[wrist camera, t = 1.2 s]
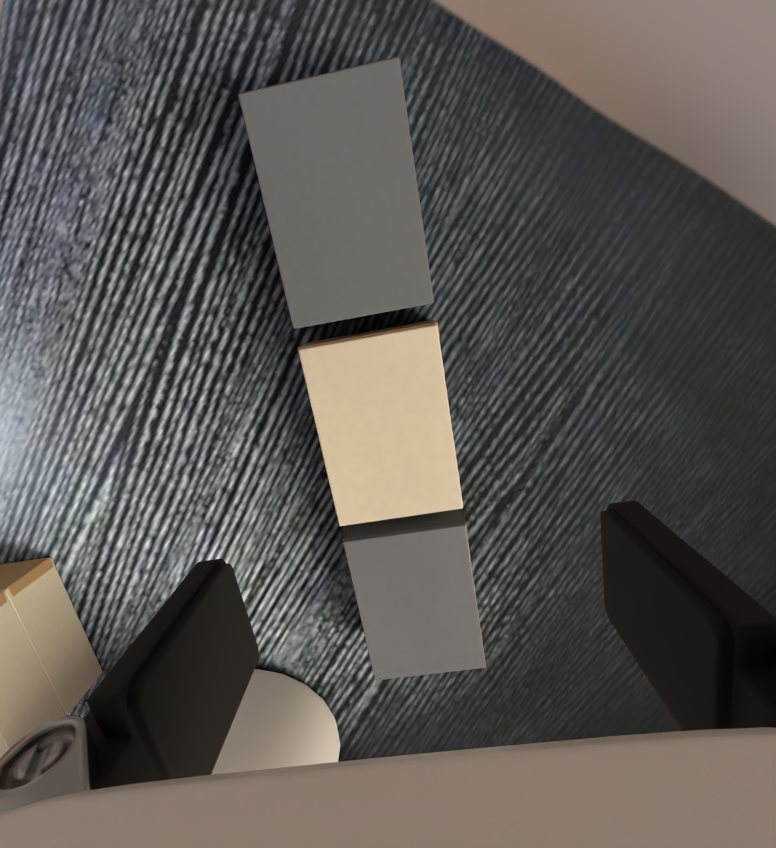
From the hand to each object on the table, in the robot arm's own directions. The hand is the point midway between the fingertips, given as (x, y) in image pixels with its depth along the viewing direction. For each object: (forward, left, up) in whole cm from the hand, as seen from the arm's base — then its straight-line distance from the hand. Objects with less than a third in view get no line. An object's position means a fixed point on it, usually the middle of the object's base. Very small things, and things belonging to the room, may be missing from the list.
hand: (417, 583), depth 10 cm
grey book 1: (-11, -1, -15) cm, 19 cm away
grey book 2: (+11, -1, -15) cm, 19 cm away
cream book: (0, -1, -15) cm, 15 cm away
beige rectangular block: (+11, -29, -15) cm, 35 cm away
